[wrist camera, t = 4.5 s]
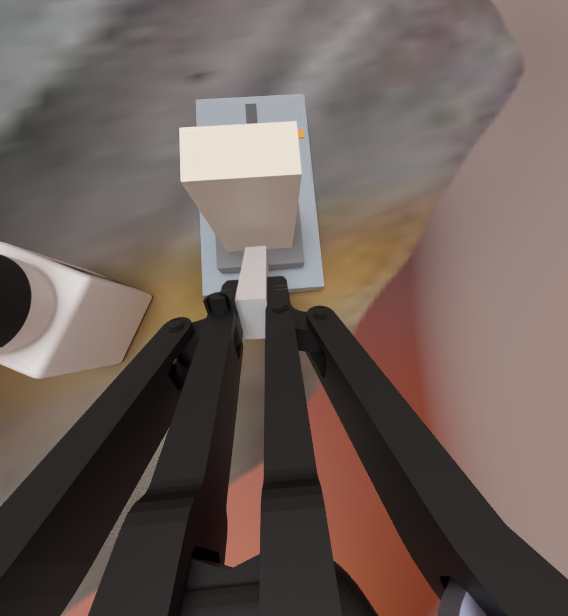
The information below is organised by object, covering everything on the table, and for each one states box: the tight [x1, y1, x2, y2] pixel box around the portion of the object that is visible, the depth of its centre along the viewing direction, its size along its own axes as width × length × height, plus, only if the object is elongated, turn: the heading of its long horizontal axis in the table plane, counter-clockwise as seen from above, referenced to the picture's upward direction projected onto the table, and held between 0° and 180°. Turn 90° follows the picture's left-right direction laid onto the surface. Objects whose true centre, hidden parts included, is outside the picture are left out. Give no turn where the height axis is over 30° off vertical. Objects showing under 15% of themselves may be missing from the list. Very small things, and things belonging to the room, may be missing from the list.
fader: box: [179, 121, 304, 273], centre depth 16 cm, size 8×6×10 cm
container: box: [0, 242, 152, 379], centre depth 16 cm, size 8×8×13 cm
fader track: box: [196, 94, 324, 297], centre depth 23 cm, size 12×22×2 cm, turn 5°
